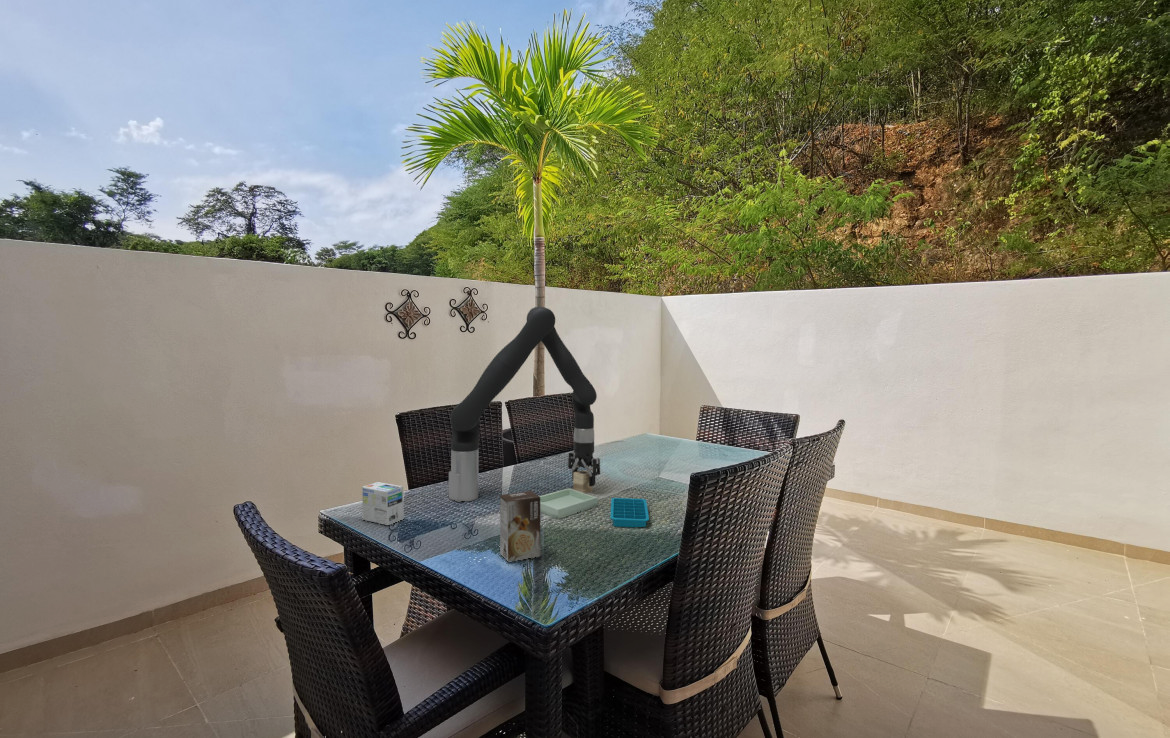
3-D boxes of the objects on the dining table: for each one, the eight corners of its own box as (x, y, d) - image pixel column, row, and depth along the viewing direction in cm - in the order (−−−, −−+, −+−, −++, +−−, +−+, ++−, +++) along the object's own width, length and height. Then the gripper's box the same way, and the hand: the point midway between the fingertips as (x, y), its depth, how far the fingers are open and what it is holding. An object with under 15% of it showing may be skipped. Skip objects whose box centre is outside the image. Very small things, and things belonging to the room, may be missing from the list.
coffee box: (531, 548, 143) (532, 489, 141) (541, 557, 137) (541, 496, 136) (499, 554, 138) (499, 494, 137) (507, 564, 133) (507, 501, 131)
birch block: (582, 494, 190) (583, 474, 189) (573, 491, 193) (573, 472, 193) (592, 491, 193) (592, 472, 193) (582, 488, 197) (583, 469, 196)
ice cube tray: (645, 507, 178) (646, 498, 178) (648, 530, 158) (649, 520, 158) (611, 506, 179) (611, 497, 178) (610, 528, 159) (610, 518, 158)
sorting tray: (557, 519, 164) (557, 509, 164) (529, 507, 174) (529, 499, 174) (597, 506, 177) (597, 497, 177) (568, 496, 187) (568, 488, 187)
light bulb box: (404, 519, 162) (404, 485, 161) (388, 527, 156) (387, 491, 155) (378, 514, 166) (378, 480, 165) (361, 521, 160) (361, 486, 159)
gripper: (563, 438, 194) (562, 481, 196) (590, 444, 184) (590, 489, 185) (577, 435, 200) (577, 477, 201) (605, 441, 190) (604, 485, 191)
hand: (583, 483), depth 193 cm, fingers open, 8 cm apart
